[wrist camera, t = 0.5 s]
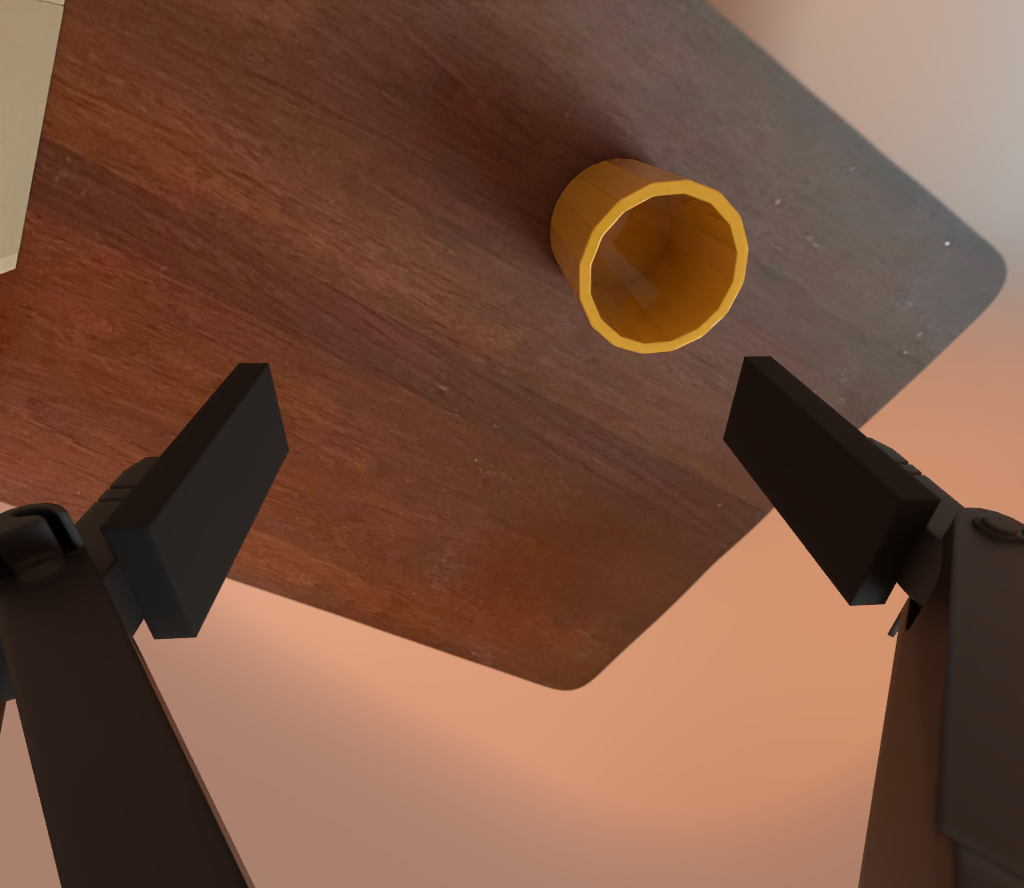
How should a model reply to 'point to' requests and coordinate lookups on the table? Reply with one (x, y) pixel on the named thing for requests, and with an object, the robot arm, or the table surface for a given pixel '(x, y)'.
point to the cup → (648, 253)
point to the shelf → (22, 107)
